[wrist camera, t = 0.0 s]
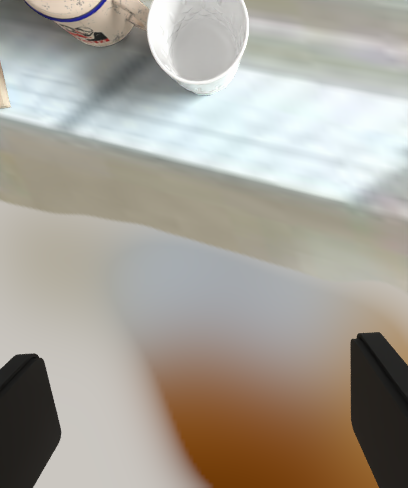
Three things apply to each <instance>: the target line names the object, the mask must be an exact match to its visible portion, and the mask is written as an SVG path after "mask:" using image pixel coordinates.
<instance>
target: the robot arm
mask: <svg viewBox="0 0 408 488" xmlns="http://www.w3.org/2000/svg"><path fill="white" fill-rule="evenodd" d="M351 421H352V426H353V430H354V433H355V435H356V437H357V439H358V441H359V444H360V446H361V448H362V450H363V452H364V455H365V457H366V459H367V462H368V464H369V466H370V468H371V470H372V473H373V475H374V477H375V479H376V482H377V484H378V486H379V488H408V366H407V364H406V363H405V362H404V361H403V359H402V358H401V357H400V356H399V355H398V353H397V352H396V351H395V350H394V349H393V347H392V346H391V345H390V344H389V343H388V342H387V340H386V339H385V338H384V337H383V336H382V334H381V333H379V332H374V333H359V334H358V335H357V339H352V340H351ZM60 438H61V428H60V424H59V420H58V415H57V411H56V407H55V403H54V399H53V395H52V391H51V387H50V383H49V379H48V375H47V371H46V367H45V363H44V360H43V359H42V358H39V356H38V355H37V354H22V355H21V354H19V355H15V356H14V357H13V358H12V359H11V360H10V361H9V362H8V363H6V364H5V366H3V367H2V368H1V369H0V488H33V486H34V485H35V483H36V481H37V479H38V478H39V476H40V474H41V472H42V471H43V469H44V467H45V466H46V464H47V462H48V461H49V459H50V457H51V455H52V454H53V452H54V450H55V449H56V447H57V445H58V443H59V441H60Z"/></svg>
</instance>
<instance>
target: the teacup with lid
mask: <svg viewBox="0 0 408 488" xmlns="http://www.w3.org/2000/svg"><path fill="white" fill-rule="evenodd" d="M24 1H25V3H26V4H27V5H28V6H29V7H30V8H32V9H33V10H34V11H35V12H37V13H38V14H40V15H42V16H43V17H45V18H48V19H50V20H52V21H54V22H55V23H56V24H58V25H59V26H60V27H62V28H63V29H64V30H66V31H67V32H69V33H70V34H71V35H73V36H74V37H75V38H77V39H78V40H80V41H81V42H83V43H85V44H88V45H91V46H97V47H104V46H109V45H112V44H115V43H117V42H119V41H120V40H122V39H123V38H124V37H125V36H126V35H127V34H128V33H129V32H130V31H131V29H132V28H133V26H134V25H135V26H137V27H139V28H141V29H143V30H147V18H148V13H149V9H148V8H147V7H146V6H145V5H144V4H143V3H141V2H140V0H24Z"/></svg>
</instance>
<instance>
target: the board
mask: <svg viewBox="0 0 408 488" xmlns="http://www.w3.org/2000/svg"><path fill="white" fill-rule="evenodd" d="M8 107H11V106H10V102H9V97H8V93H7V89H6V84H5V80H4V75H3V71H2V67H1V62H0V108H8Z"/></svg>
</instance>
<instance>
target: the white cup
mask: <svg viewBox="0 0 408 488" xmlns="http://www.w3.org/2000/svg"><path fill="white" fill-rule="evenodd" d="M248 32H249V20H248V13H247V9H246V6H245V3H244V1H243V0H153V1H152V4H151V6H150V9H149V13H148V18H147V38H148V43H149V47H150V50H151V52H152V54H153V56H154V58H155V60H156V62H157V63H158V64H159V66H160V67H161V68H162V69H163V70H164V71H165V72H166V73H167V74H168V75H169V76H170V77H171V78H172V79H174V80H175V81H176V82H177V83H178V84H180V85H181V86H182V87H184V88H185V89H187V90H189V91H192V92H193V93H195V94H197V95H212V94H214V93H216V92H219V91H221V90H223V89H225V87H226V86H227V85H228V84H229V82H230V81H231V80H232V79H233V77H234V75H235V73H236V71H237V69H238V67H239V65H240V62H241V59H242V56H243V53H244V50H245V47H246V43H247V39H248Z"/></svg>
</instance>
